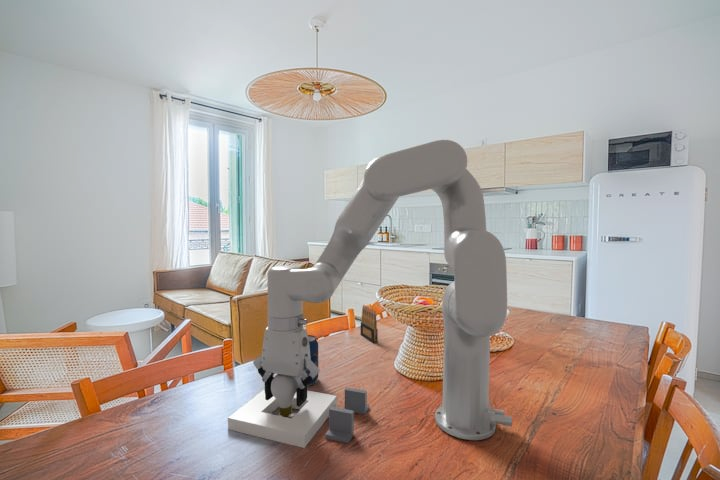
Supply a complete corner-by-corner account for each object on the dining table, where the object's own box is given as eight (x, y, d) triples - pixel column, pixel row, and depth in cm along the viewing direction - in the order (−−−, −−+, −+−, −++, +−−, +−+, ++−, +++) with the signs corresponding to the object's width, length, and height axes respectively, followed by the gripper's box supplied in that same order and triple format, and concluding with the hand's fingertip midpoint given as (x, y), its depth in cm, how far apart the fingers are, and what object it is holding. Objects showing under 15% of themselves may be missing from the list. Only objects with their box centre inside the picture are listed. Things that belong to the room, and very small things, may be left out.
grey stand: (369, 407, 80) (369, 387, 80) (348, 443, 67) (348, 418, 67) (349, 404, 82) (349, 383, 81) (325, 438, 69) (325, 414, 68)
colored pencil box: (360, 334, 133) (360, 304, 132) (364, 334, 133) (364, 304, 133) (373, 343, 123) (373, 310, 122) (377, 342, 124) (378, 310, 123)
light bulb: (302, 409, 79) (300, 367, 78) (295, 424, 73) (292, 378, 72) (277, 409, 79) (275, 367, 79) (268, 424, 73) (266, 378, 73)
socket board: (336, 406, 81) (336, 395, 80) (304, 448, 65) (304, 435, 65) (271, 393, 86) (271, 383, 86) (228, 429, 71) (227, 417, 71)
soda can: (302, 389, 88) (302, 344, 88) (287, 381, 93) (287, 338, 93) (323, 381, 93) (323, 338, 93) (308, 373, 98) (308, 332, 98)
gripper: (328, 321, 76) (328, 398, 76) (261, 314, 81) (262, 386, 82) (313, 331, 69) (313, 416, 69) (241, 322, 74) (242, 401, 75)
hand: (285, 399), depth 76 cm, fingers open, 7 cm apart
